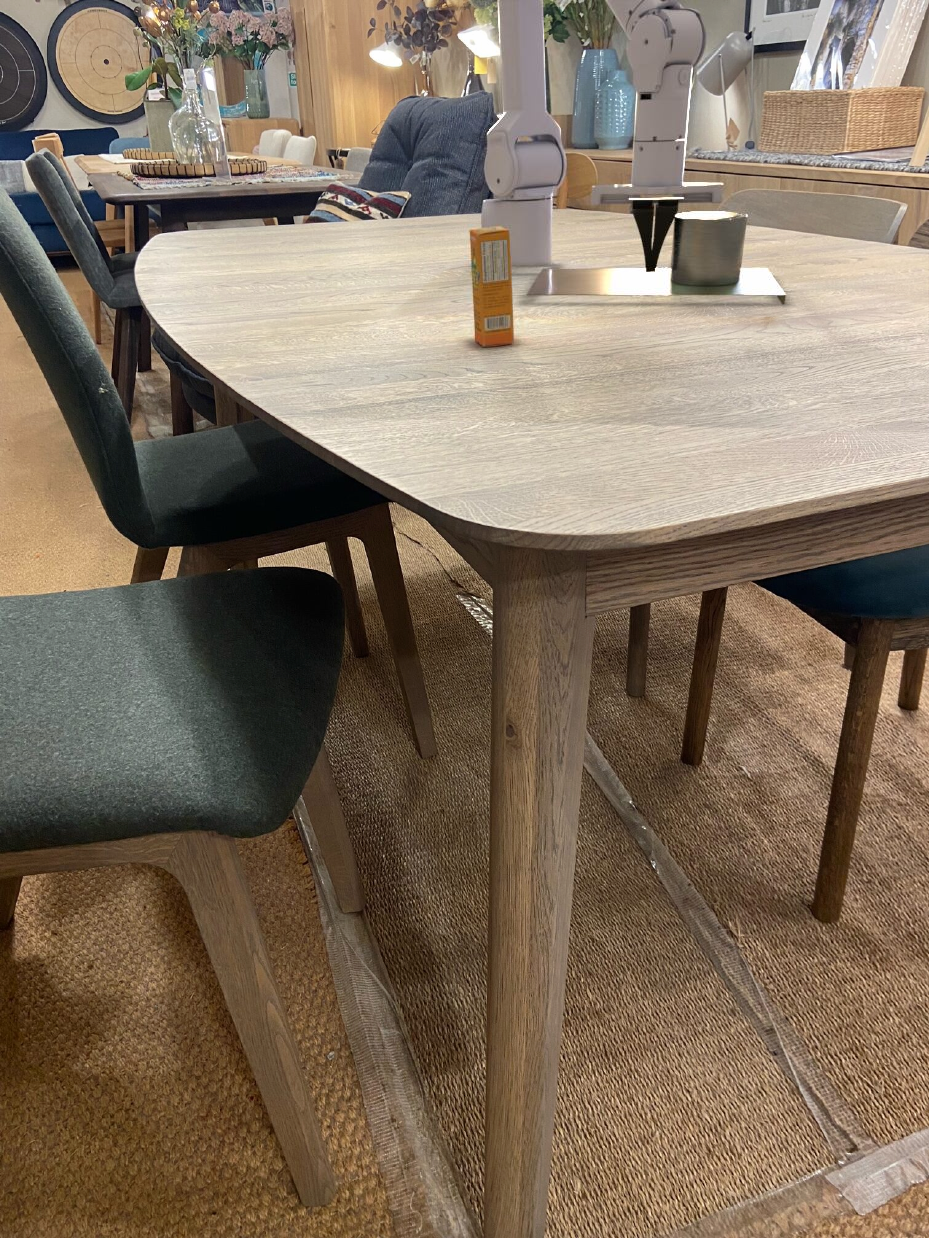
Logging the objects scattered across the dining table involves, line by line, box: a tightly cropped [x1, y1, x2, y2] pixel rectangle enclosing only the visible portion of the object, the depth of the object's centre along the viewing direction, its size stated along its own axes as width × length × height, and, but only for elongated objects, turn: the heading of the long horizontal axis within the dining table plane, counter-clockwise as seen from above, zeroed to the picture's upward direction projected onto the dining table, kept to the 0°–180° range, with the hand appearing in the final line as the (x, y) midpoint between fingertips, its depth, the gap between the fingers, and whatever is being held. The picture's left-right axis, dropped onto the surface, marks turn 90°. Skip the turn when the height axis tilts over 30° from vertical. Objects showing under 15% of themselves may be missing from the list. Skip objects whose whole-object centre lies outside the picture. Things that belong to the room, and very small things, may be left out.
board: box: [526, 267, 787, 305], centre depth 105 cm, size 28×18×1 cm, turn 80°
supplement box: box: [468, 226, 515, 348], centre depth 82 cm, size 3×3×10 cm
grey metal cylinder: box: [669, 211, 748, 286], centre depth 102 cm, size 8×8×7 cm
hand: (650, 271), depth 104 cm, fingers closed
